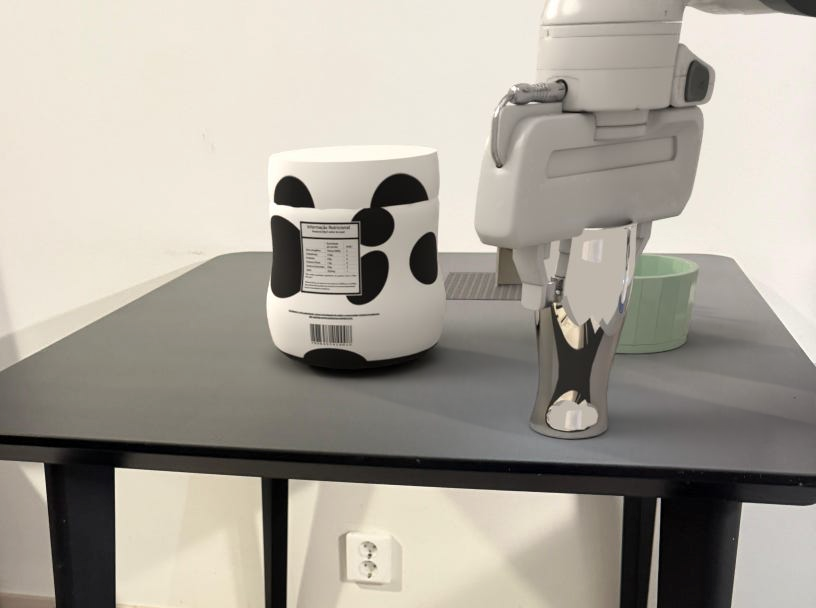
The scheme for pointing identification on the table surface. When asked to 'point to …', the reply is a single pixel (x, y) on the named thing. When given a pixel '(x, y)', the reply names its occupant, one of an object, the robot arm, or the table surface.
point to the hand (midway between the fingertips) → (578, 297)
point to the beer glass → (582, 329)
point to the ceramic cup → (659, 304)
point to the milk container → (355, 255)
